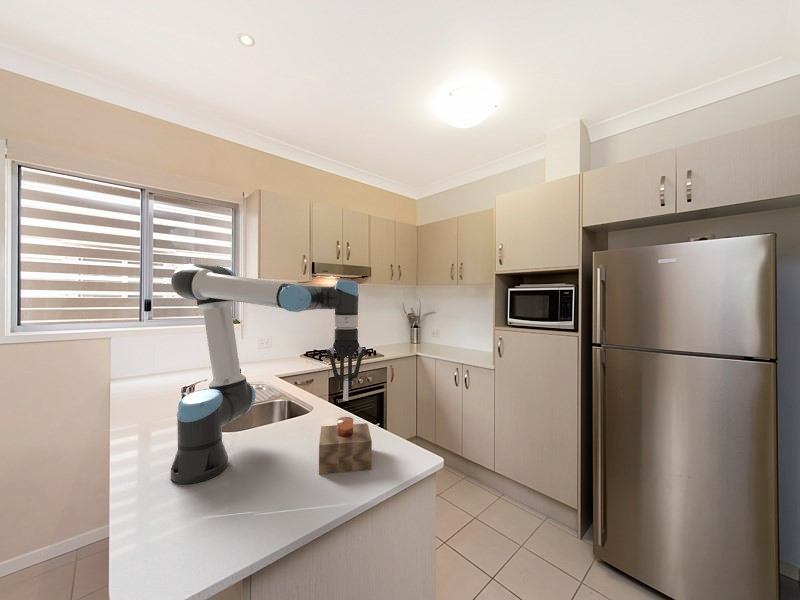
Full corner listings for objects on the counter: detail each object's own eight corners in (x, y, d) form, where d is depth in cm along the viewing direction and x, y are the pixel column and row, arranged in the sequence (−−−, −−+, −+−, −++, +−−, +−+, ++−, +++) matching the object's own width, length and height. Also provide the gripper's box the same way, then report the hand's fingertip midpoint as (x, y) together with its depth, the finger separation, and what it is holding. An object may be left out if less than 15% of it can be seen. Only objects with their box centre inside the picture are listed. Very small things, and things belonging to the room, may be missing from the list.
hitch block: (318, 474, 97) (319, 445, 97) (321, 452, 111) (321, 426, 111) (371, 469, 100) (371, 441, 100) (367, 448, 114) (367, 423, 114)
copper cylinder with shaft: (337, 456, 103) (337, 423, 102) (337, 448, 108) (337, 417, 108) (353, 454, 104) (353, 422, 103) (352, 447, 109) (352, 416, 109)
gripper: (325, 329, 100) (324, 404, 100) (367, 328, 103) (366, 402, 103) (326, 326, 107) (325, 396, 108) (365, 326, 110) (364, 394, 110)
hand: (345, 399), depth 105 cm, fingers closed
